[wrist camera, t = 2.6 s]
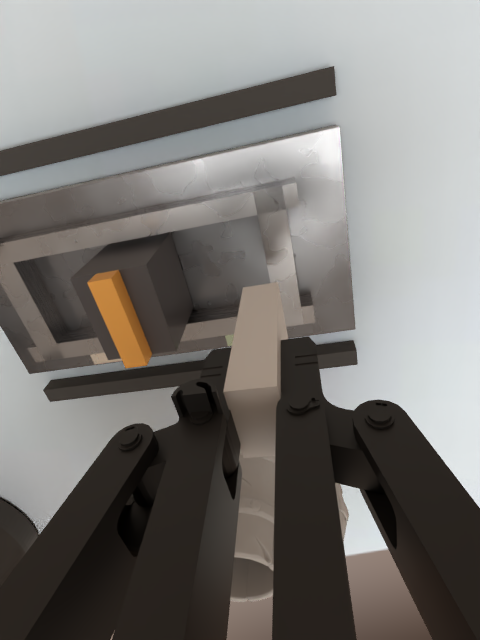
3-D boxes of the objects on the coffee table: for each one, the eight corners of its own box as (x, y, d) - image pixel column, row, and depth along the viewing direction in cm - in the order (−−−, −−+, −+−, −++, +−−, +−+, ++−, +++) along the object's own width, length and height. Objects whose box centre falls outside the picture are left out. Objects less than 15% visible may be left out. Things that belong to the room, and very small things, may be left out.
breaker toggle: (136, 315, 25) (101, 371, 20) (107, 244, 23) (60, 287, 18) (193, 306, 25) (172, 361, 20) (170, 232, 22) (139, 273, 17)
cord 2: (-60, 189, 24) (-75, 194, 23) (-72, 169, 23) (-88, 173, 22) (332, 95, 20) (336, 95, 19) (330, 67, 19) (333, 66, 18)
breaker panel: (39, 361, 30) (17, 387, 28) (-47, 212, 24) (-87, 226, 22) (351, 317, 26) (360, 343, 23) (335, 124, 20) (344, 129, 18)
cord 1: (57, 391, 32) (50, 401, 31) (50, 380, 31) (43, 390, 30) (354, 354, 28) (357, 364, 27) (353, 340, 27) (356, 350, 26)
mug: (191, 436, 33) (154, 589, 23) (328, 414, 31) (355, 575, 20) (219, 491, 37) (197, 645, 27) (343, 475, 34) (373, 639, 24)
